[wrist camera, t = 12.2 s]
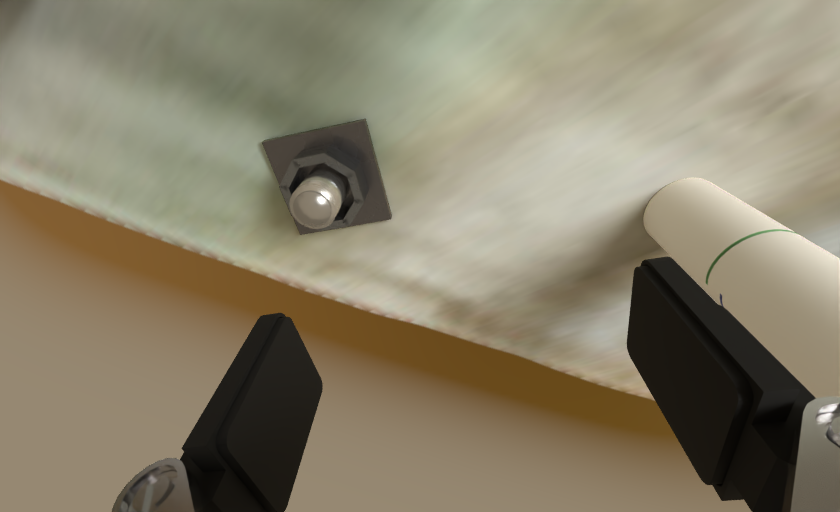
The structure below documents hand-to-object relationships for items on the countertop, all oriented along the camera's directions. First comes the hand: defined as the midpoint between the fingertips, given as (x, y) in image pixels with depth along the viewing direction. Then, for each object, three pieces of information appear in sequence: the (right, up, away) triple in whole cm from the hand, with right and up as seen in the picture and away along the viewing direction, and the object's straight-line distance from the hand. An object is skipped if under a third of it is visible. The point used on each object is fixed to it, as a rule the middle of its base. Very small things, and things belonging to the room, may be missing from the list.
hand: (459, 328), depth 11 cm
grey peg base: (-10, +10, +28) cm, 31 cm away
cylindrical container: (+25, +7, +28) cm, 39 cm away
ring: (-10, +9, +27) cm, 30 cm away
